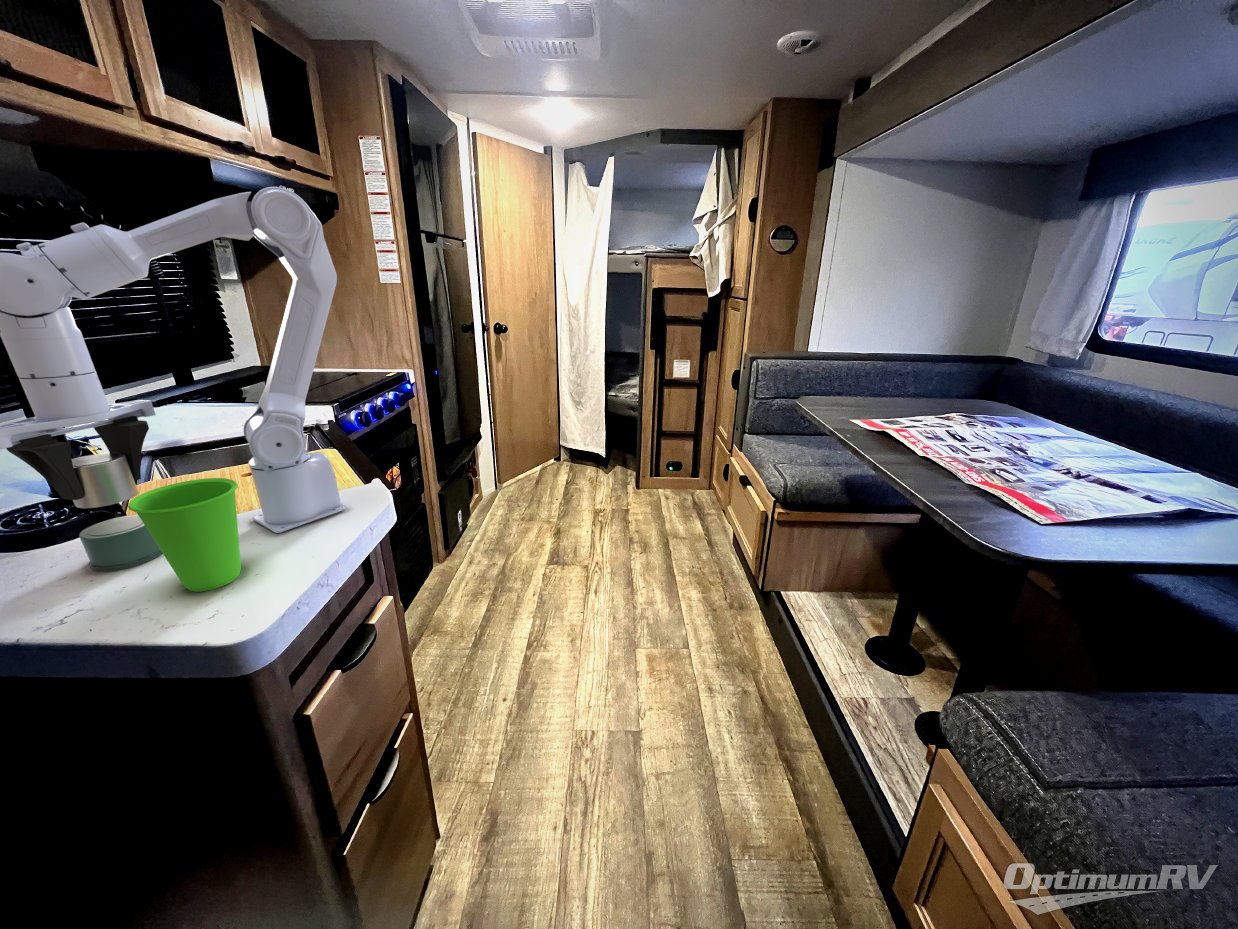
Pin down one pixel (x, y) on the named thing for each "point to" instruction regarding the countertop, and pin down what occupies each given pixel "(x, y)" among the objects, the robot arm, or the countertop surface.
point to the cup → (195, 530)
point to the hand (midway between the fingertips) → (104, 488)
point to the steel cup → (104, 480)
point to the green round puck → (118, 544)
